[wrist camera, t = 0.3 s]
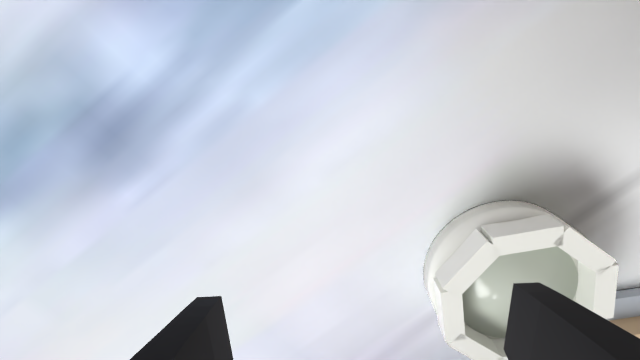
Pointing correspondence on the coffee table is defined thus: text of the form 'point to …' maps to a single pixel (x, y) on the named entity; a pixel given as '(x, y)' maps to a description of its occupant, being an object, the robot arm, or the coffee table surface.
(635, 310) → the mat
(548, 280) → the bowl
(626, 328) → the lid
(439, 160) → the coffee table surface
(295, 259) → the coffee table surface
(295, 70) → the coffee table surface
